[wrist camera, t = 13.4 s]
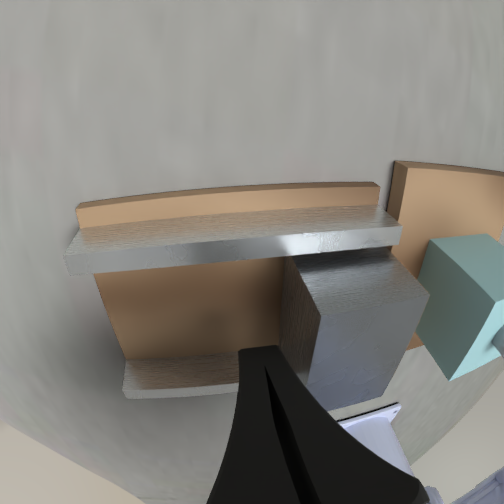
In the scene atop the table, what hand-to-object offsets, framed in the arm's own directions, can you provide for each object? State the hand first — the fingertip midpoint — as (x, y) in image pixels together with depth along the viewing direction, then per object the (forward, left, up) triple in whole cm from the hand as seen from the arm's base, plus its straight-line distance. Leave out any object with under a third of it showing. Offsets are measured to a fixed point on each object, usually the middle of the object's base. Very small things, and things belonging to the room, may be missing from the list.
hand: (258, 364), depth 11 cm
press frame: (0, -5, -4) cm, 6 cm away
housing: (0, -12, -3) cm, 12 cm away
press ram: (0, -4, -3) cm, 5 cm away
